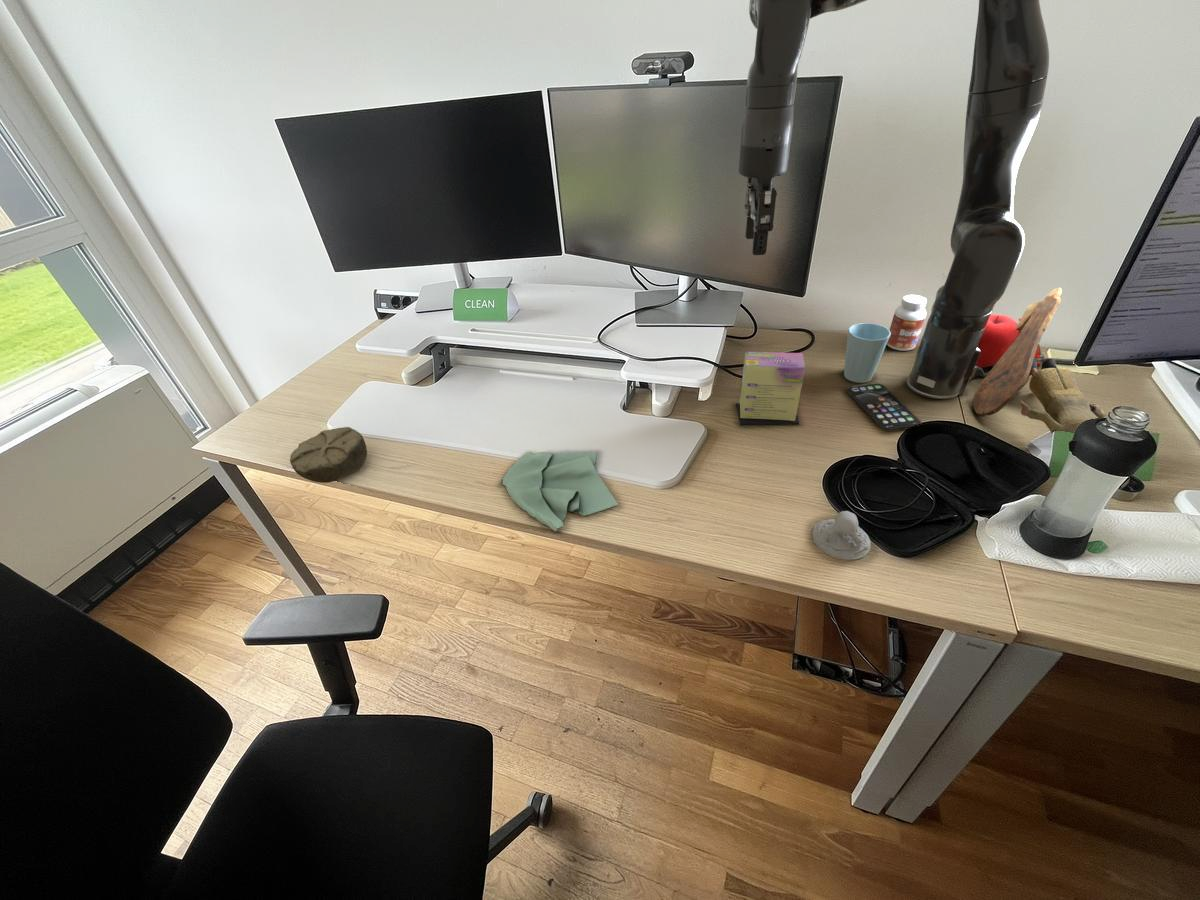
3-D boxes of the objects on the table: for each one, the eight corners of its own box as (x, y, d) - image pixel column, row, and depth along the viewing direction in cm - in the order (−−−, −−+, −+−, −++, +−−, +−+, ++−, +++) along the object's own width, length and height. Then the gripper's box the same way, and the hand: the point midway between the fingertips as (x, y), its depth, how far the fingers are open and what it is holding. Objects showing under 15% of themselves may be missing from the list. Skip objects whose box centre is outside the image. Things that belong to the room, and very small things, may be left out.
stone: (373, 437, 99) (384, 459, 102) (339, 417, 106) (350, 438, 109) (307, 476, 91) (320, 498, 95) (276, 452, 99) (290, 473, 102)
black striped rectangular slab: (791, 404, 106) (792, 401, 105) (799, 424, 100) (799, 422, 100) (735, 405, 107) (736, 402, 107) (740, 425, 102) (740, 423, 101)
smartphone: (881, 382, 108) (923, 424, 96) (880, 385, 108) (922, 427, 96) (845, 387, 108) (884, 429, 96) (845, 389, 108) (883, 432, 96)
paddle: (956, 410, 100) (1029, 296, 106) (970, 421, 100) (1042, 307, 106) (993, 401, 92) (1070, 277, 97) (1008, 413, 92) (1084, 289, 97)
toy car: (1046, 366, 109) (1026, 371, 111) (1038, 346, 111) (1020, 351, 113) (1038, 332, 101) (1018, 338, 103) (1031, 312, 104) (1011, 318, 106)
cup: (870, 389, 107) (882, 343, 101) (832, 379, 112) (842, 334, 105) (883, 373, 112) (896, 328, 105) (846, 364, 116) (857, 319, 109)
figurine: (993, 390, 104) (1050, 510, 84) (1012, 351, 97) (1078, 471, 77) (1061, 390, 101) (1136, 515, 81) (1084, 350, 94) (1173, 475, 74)
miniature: (872, 527, 79) (880, 505, 76) (868, 566, 74) (877, 543, 71) (815, 514, 82) (821, 492, 79) (808, 551, 77) (814, 528, 74)
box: (793, 404, 104) (802, 351, 97) (795, 421, 100) (805, 367, 93) (739, 402, 107) (744, 350, 99) (739, 419, 102) (744, 365, 95)
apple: (979, 348, 116) (998, 301, 109) (1017, 368, 109) (1040, 319, 102) (940, 357, 114) (958, 310, 108) (976, 378, 107) (997, 329, 100)
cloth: (518, 448, 102) (515, 438, 100) (630, 454, 97) (629, 444, 96) (479, 526, 86) (476, 515, 85) (610, 537, 82) (609, 526, 80)
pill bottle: (894, 353, 118) (908, 306, 111) (880, 340, 123) (893, 294, 116) (921, 350, 118) (937, 302, 111) (906, 337, 123) (920, 291, 116)
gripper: (735, 134, 88) (728, 234, 98) (747, 150, 77) (738, 261, 87) (782, 130, 87) (770, 232, 97) (800, 146, 76) (784, 259, 86)
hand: (755, 246), depth 92 cm, fingers open, 8 cm apart
